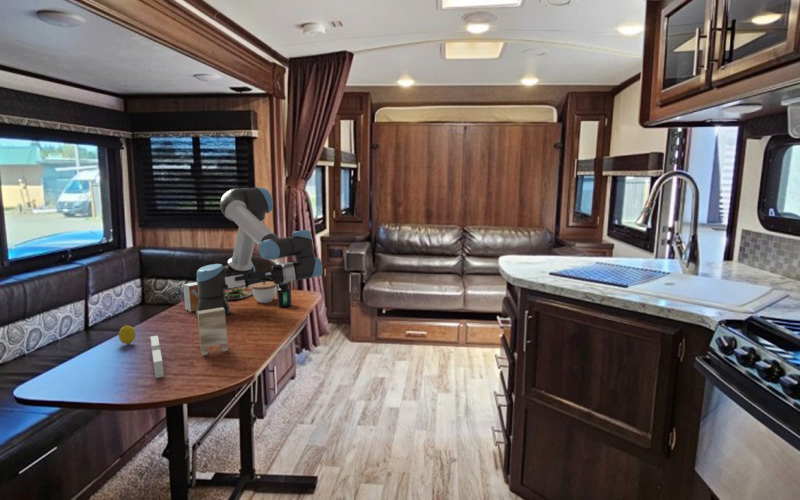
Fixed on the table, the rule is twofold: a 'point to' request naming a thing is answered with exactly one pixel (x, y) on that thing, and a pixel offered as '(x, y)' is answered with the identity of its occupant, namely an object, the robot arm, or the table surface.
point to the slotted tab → (212, 329)
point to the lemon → (126, 334)
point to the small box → (191, 296)
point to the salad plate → (236, 294)
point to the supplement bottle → (284, 295)
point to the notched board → (157, 357)
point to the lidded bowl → (264, 291)
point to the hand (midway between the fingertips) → (226, 283)
